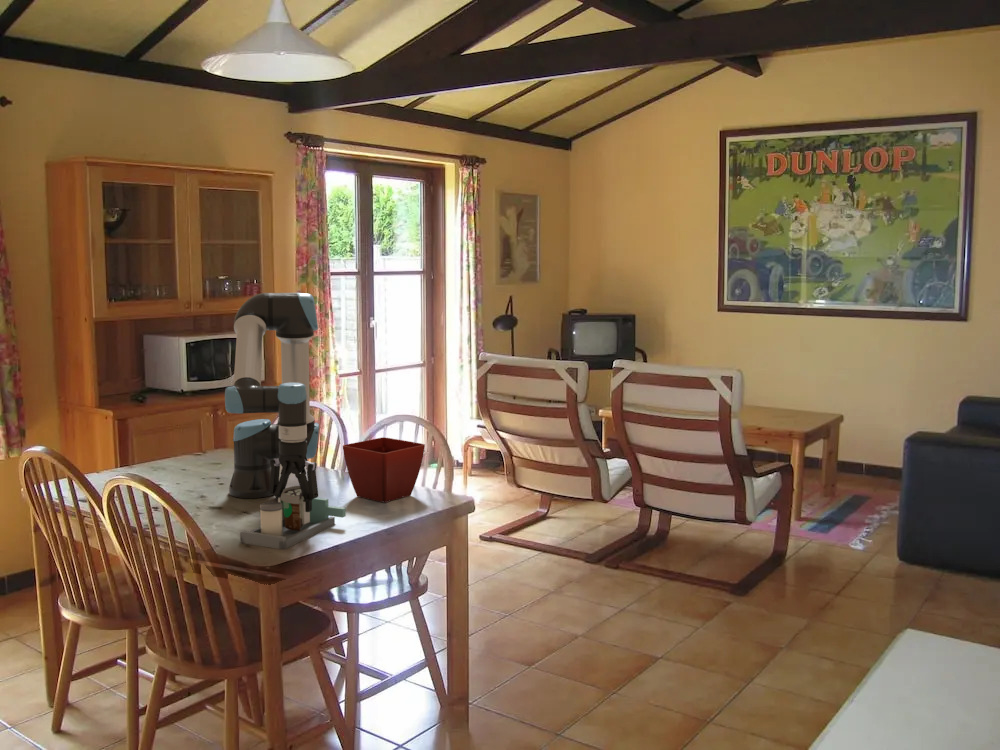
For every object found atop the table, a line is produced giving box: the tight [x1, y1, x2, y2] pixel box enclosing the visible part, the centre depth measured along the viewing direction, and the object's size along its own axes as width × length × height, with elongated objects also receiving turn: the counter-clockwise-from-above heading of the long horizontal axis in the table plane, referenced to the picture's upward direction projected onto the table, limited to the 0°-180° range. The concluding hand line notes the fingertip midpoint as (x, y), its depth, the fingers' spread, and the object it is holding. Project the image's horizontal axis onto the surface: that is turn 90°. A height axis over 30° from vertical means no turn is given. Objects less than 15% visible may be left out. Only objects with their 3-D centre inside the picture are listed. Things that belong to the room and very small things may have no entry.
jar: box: [259, 501, 283, 536], centre depth 251 cm, size 6×6×10 cm
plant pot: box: [342, 436, 426, 503], centre depth 301 cm, size 19×19×17 cm
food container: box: [281, 485, 304, 531], centre depth 261 cm, size 12×6×10 cm, turn 1°
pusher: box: [310, 497, 347, 523], centre depth 268 cm, size 16×2×7 cm, turn 68°
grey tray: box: [239, 516, 336, 550], centre depth 259 cm, size 14×25×4 cm, turn 158°
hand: (294, 521), depth 261 cm, fingers closed on food container, 7 cm apart
